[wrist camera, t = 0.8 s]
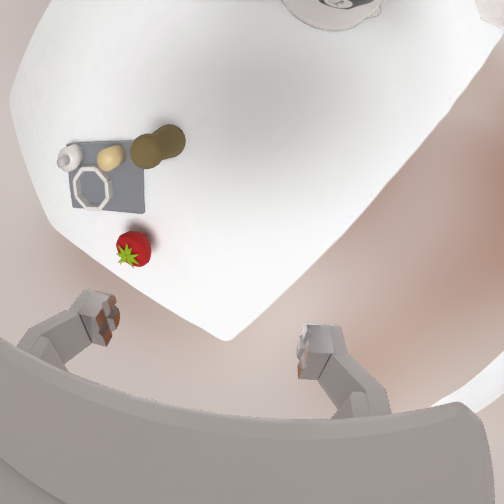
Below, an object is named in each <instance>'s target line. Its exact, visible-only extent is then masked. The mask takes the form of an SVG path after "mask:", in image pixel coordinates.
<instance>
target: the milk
mask: <svg viewBox="0 0 504 504" xmlns="http://www.w3.org/2000/svg"><path fill="white" fill-rule="evenodd" d="M475 2H476V5H477V8H478V11H479V14H480V17H481V20H483V21H485V22H487V23H490V24H492V25H494V26H496V27H498V28H500V29H502V30H504V0H475Z"/></svg>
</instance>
